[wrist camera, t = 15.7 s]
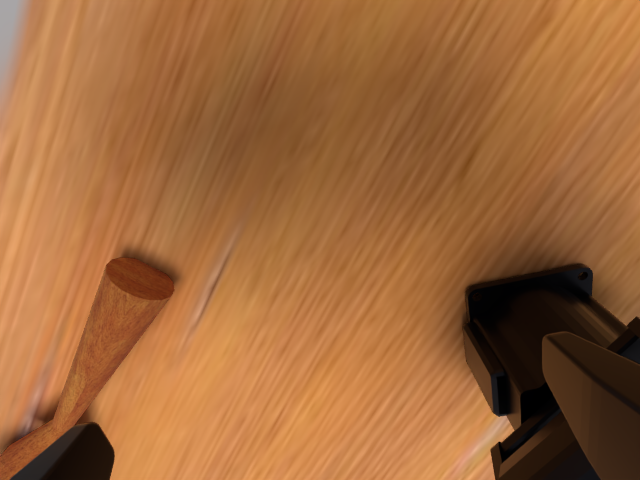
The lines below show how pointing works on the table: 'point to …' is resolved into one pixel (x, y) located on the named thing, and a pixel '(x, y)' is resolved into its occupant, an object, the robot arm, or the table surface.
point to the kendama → (98, 350)
